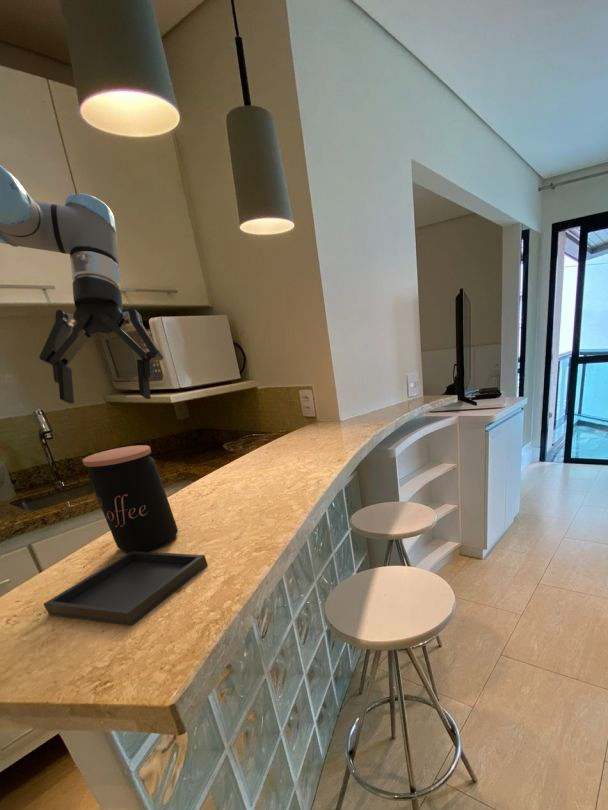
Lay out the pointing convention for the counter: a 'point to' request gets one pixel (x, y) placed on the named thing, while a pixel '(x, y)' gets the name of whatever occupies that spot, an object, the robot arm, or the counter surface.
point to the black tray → (127, 587)
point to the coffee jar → (132, 498)
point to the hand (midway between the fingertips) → (106, 399)
